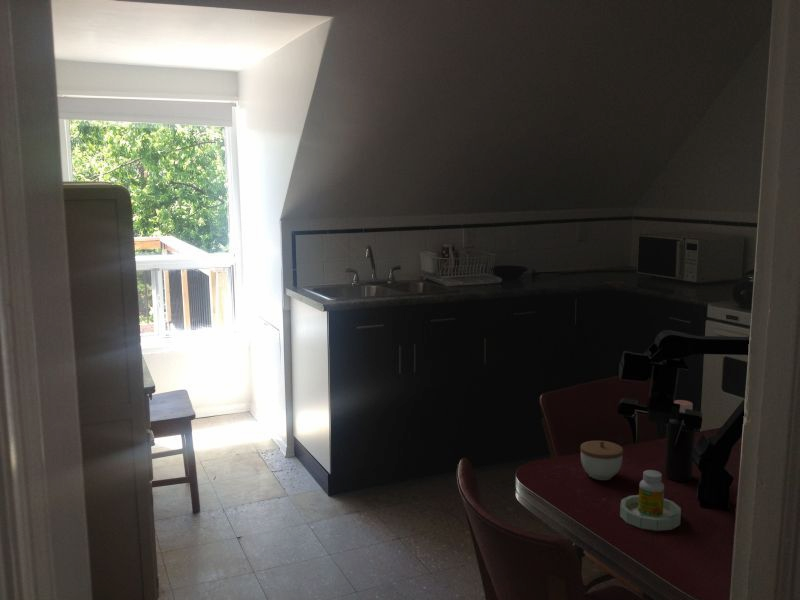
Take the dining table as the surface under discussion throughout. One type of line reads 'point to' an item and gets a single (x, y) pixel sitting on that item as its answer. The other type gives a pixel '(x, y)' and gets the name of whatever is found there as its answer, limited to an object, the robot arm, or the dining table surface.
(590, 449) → the lidded jar
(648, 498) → the supplement bottle
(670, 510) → the bowl
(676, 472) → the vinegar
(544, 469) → the dining table surface
